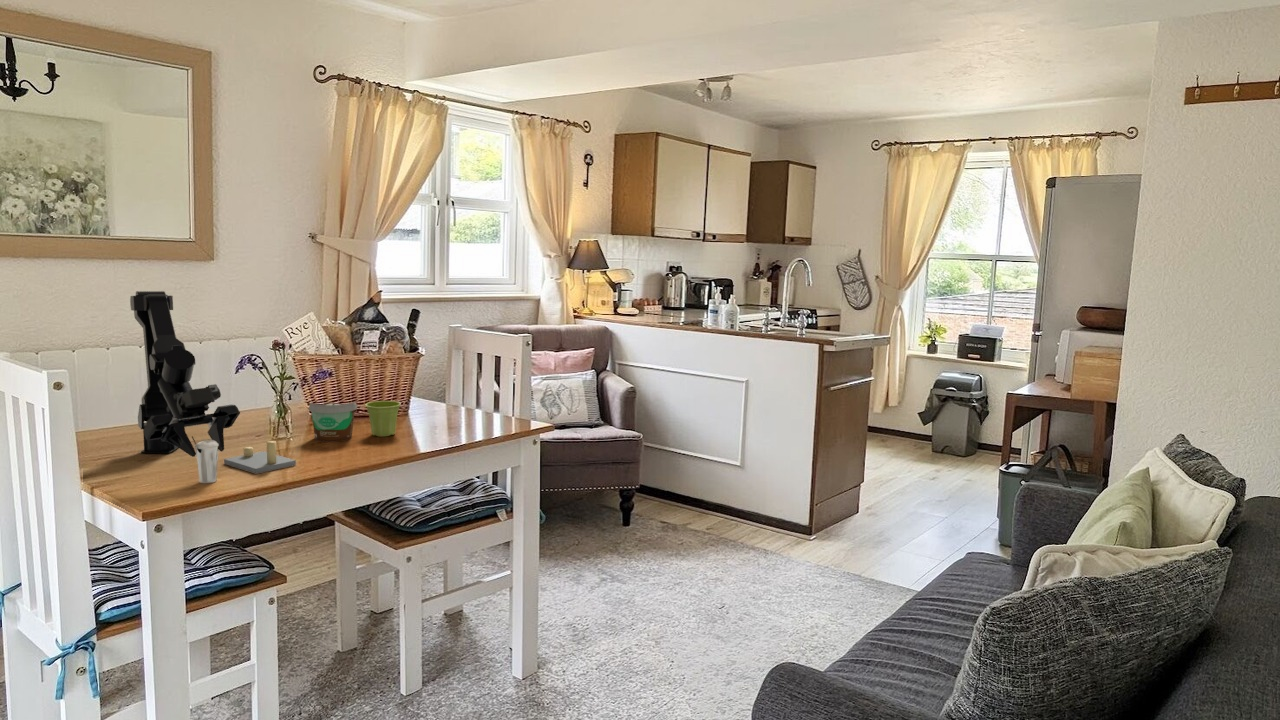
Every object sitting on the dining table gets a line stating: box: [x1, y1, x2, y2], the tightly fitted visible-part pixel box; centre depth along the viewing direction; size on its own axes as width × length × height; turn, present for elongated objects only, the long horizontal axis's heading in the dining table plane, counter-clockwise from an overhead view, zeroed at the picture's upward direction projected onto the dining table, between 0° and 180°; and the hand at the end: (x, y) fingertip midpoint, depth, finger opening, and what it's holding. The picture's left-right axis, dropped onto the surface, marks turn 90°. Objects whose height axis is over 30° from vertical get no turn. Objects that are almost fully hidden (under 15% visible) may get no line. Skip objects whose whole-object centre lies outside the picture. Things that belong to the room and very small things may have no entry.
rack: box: [223, 440, 297, 475], centre depth 194 cm, size 13×10×6 cm
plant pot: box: [364, 400, 402, 438], centre depth 228 cm, size 9×9×9 cm
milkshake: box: [191, 435, 219, 484], centre depth 179 cm, size 4×5×10 cm
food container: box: [308, 401, 358, 443], centre depth 220 cm, size 12×6×10 cm, turn 105°
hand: (208, 452), depth 178 cm, fingers open, 6 cm apart
